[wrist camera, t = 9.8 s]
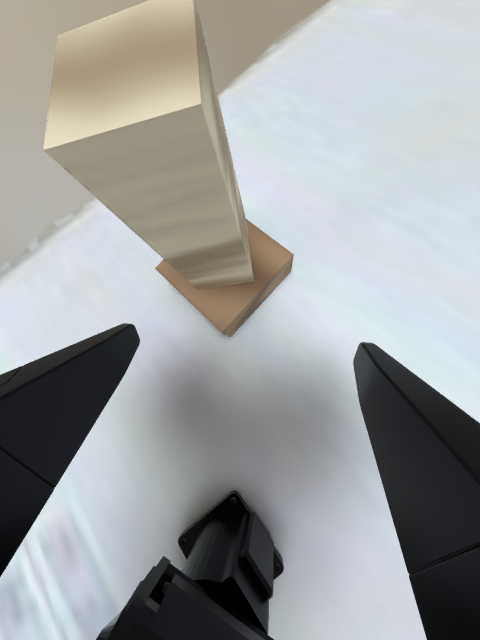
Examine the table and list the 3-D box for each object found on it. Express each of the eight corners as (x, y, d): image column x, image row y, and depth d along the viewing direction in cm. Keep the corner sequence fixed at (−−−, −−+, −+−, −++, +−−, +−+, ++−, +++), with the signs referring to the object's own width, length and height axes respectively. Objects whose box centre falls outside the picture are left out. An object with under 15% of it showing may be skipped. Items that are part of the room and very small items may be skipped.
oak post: (254, 281, 18) (200, 103, 6) (198, 290, 19) (43, 149, 7) (248, 229, 19) (192, -17, 7) (195, 239, 20) (57, 35, 8)
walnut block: (231, 337, 22) (221, 332, 18) (174, 283, 24) (154, 268, 20) (290, 273, 22) (293, 254, 18) (228, 225, 24) (220, 199, 21)
